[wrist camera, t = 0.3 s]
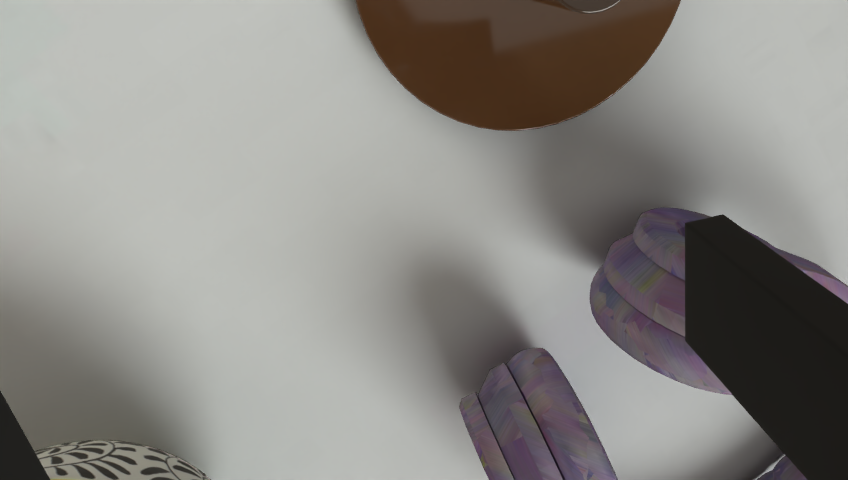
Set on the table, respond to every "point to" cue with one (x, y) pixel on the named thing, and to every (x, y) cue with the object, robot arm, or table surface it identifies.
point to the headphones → (629, 329)
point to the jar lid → (515, 54)
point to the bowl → (114, 462)
